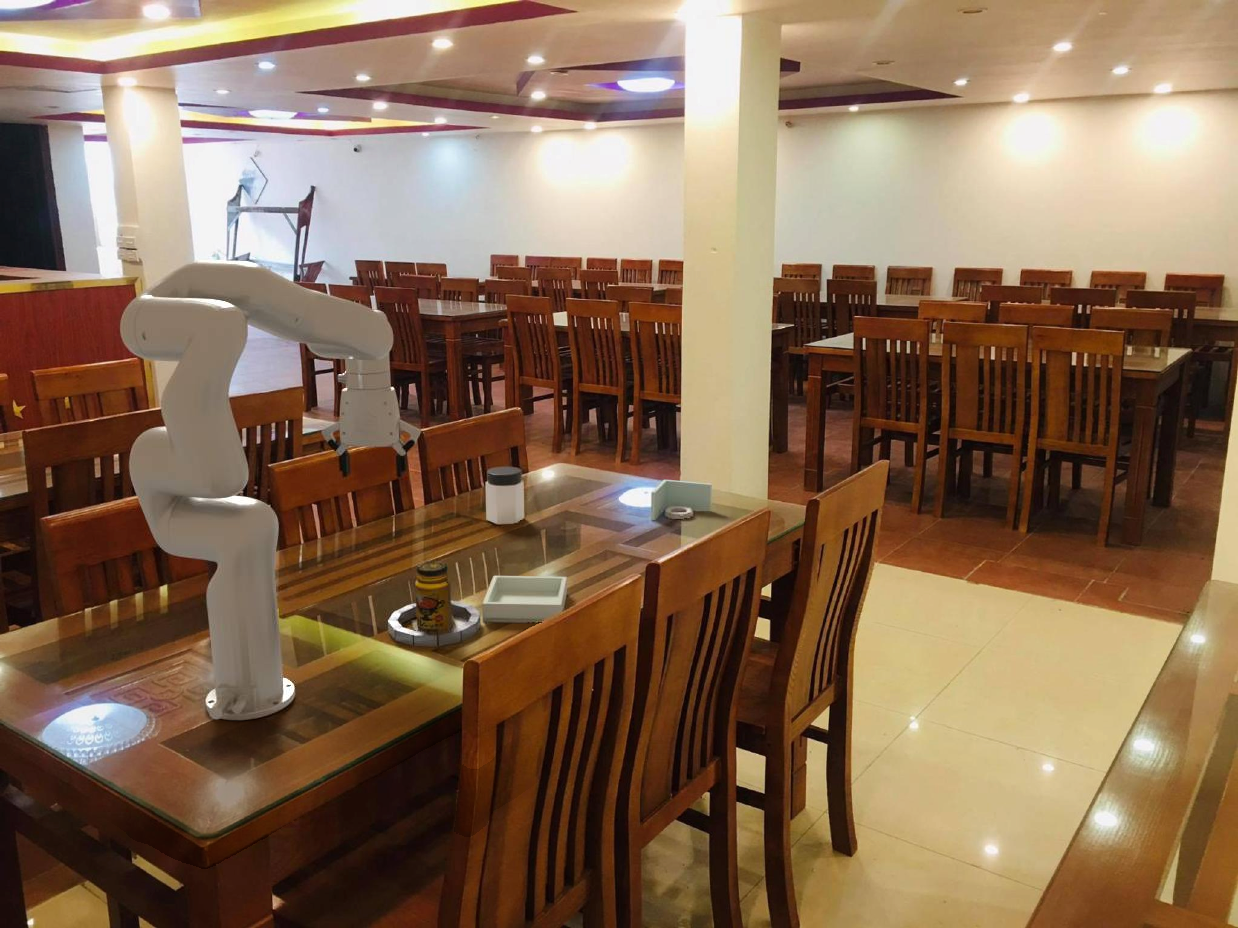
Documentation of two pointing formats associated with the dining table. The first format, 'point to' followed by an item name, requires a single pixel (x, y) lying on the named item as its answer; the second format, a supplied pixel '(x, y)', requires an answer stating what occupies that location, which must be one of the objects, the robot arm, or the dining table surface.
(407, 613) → the collar
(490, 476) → the jar
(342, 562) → the dining table surface
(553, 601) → the bin
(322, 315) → the robot arm
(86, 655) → the dining table surface
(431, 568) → the condiment
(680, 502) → the right angle wall
